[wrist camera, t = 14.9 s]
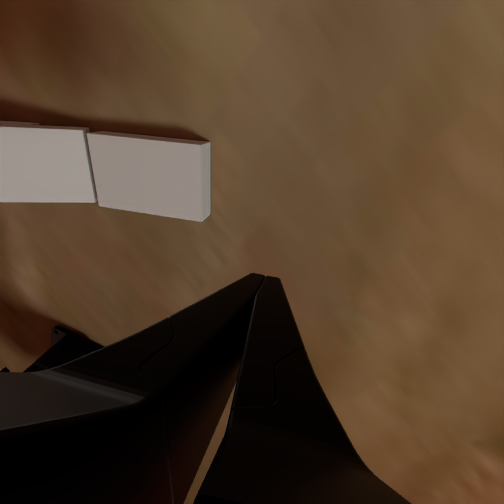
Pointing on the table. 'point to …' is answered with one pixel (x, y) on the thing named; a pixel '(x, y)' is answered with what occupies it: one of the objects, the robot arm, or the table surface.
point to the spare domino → (151, 174)
